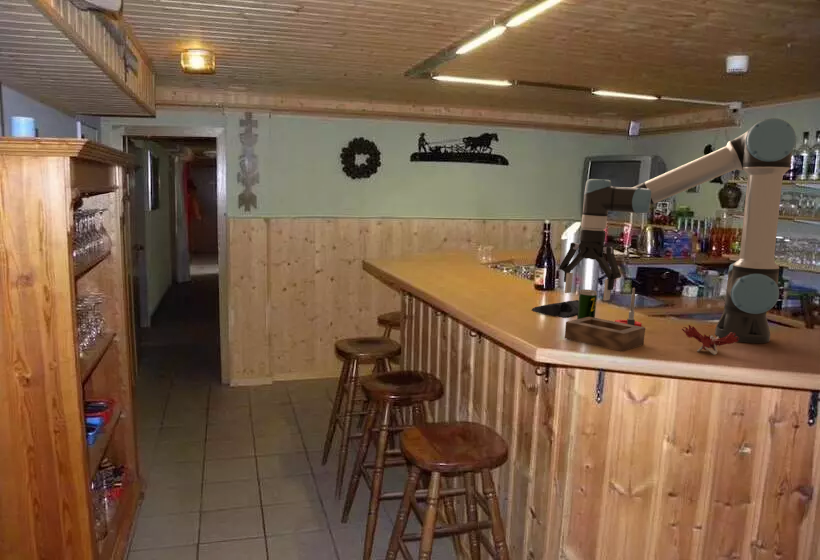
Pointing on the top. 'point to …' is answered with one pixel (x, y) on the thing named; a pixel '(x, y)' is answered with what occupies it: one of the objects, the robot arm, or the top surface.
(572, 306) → the dark slate chunk
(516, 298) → the top surface
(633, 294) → the grey and red post
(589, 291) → the beer can
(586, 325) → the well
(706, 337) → the figurine
